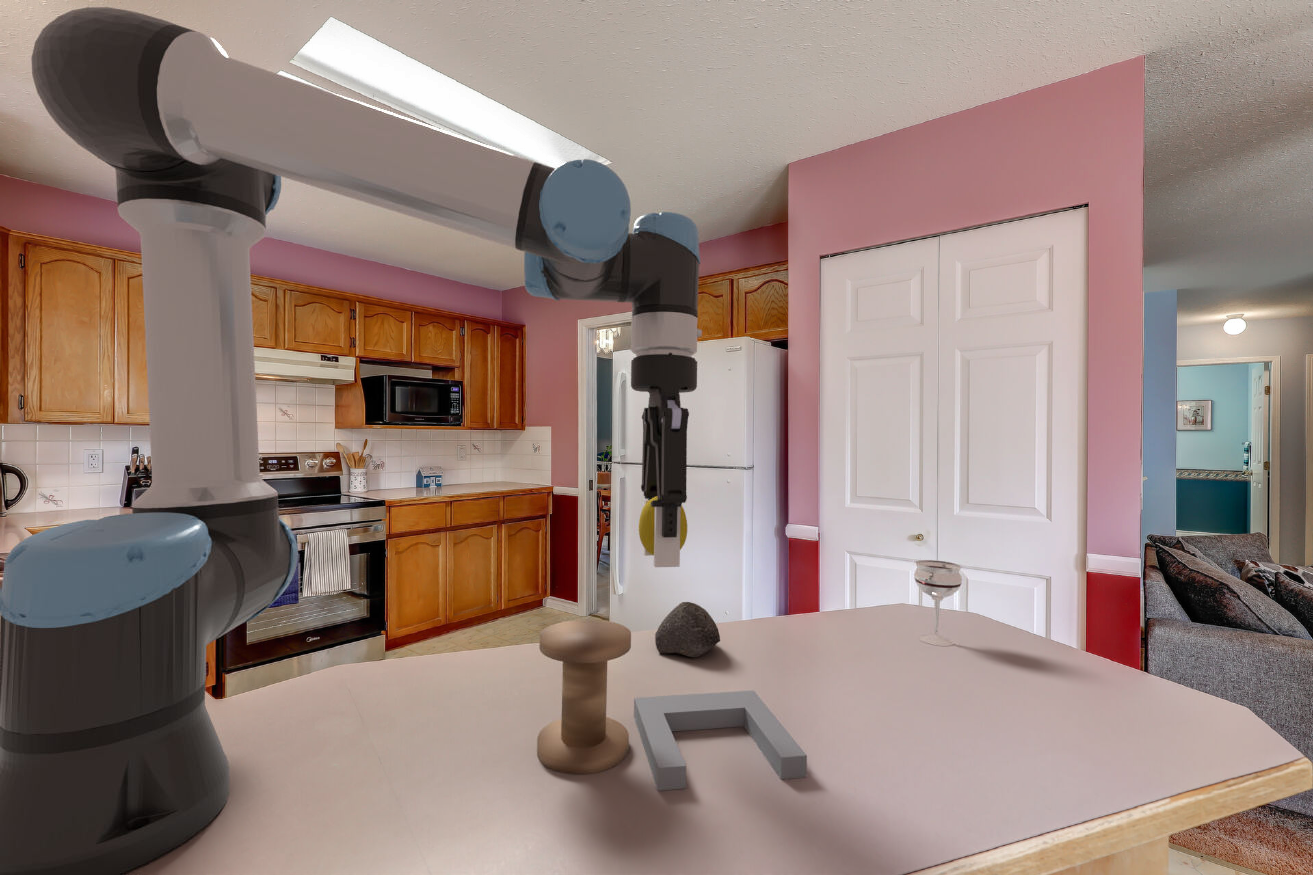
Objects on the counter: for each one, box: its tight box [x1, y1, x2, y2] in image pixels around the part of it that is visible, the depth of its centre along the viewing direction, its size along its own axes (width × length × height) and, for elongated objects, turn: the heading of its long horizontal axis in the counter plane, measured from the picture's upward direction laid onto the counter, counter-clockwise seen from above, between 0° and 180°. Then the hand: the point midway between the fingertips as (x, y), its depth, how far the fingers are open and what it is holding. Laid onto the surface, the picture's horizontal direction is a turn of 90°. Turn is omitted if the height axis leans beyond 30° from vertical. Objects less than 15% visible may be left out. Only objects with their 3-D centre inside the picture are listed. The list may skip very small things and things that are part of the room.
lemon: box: [638, 496, 688, 556], centre depth 67 cm, size 6×6×8 cm
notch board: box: [633, 690, 808, 792], centre depth 60 cm, size 14×14×2 cm
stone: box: [654, 601, 721, 659], centre depth 86 cm, size 10×8×10 cm
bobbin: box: [536, 619, 632, 775], centre depth 58 cm, size 9×9×11 cm
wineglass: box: [914, 559, 963, 647], centre depth 93 cm, size 7×7×12 cm
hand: (660, 559), depth 67 cm, fingers closed on lemon, 5 cm apart
